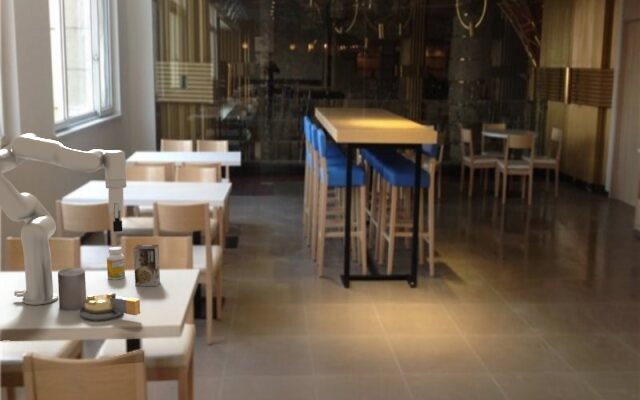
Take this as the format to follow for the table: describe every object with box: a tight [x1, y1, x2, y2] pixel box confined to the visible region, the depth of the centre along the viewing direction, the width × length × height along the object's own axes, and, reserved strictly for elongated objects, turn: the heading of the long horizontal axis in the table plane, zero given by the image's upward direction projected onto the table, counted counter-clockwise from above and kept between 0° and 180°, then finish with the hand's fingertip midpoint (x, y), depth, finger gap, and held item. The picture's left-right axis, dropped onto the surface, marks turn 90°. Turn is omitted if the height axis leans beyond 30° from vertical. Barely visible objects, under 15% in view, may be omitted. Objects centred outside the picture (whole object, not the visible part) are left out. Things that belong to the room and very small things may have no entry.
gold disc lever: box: [84, 292, 141, 316], centre depth 255 cm, size 22×12×6 cm, turn 67°
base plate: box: [79, 307, 124, 323], centre depth 258 cm, size 15×15×2 cm
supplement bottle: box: [106, 246, 126, 281], centre depth 302 cm, size 7×7×13 cm
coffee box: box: [132, 244, 161, 287], centre depth 293 cm, size 9×6×16 cm
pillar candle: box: [57, 267, 87, 312], centre depth 265 cm, size 10×10×15 cm
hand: (118, 231), depth 270 cm, fingers closed
